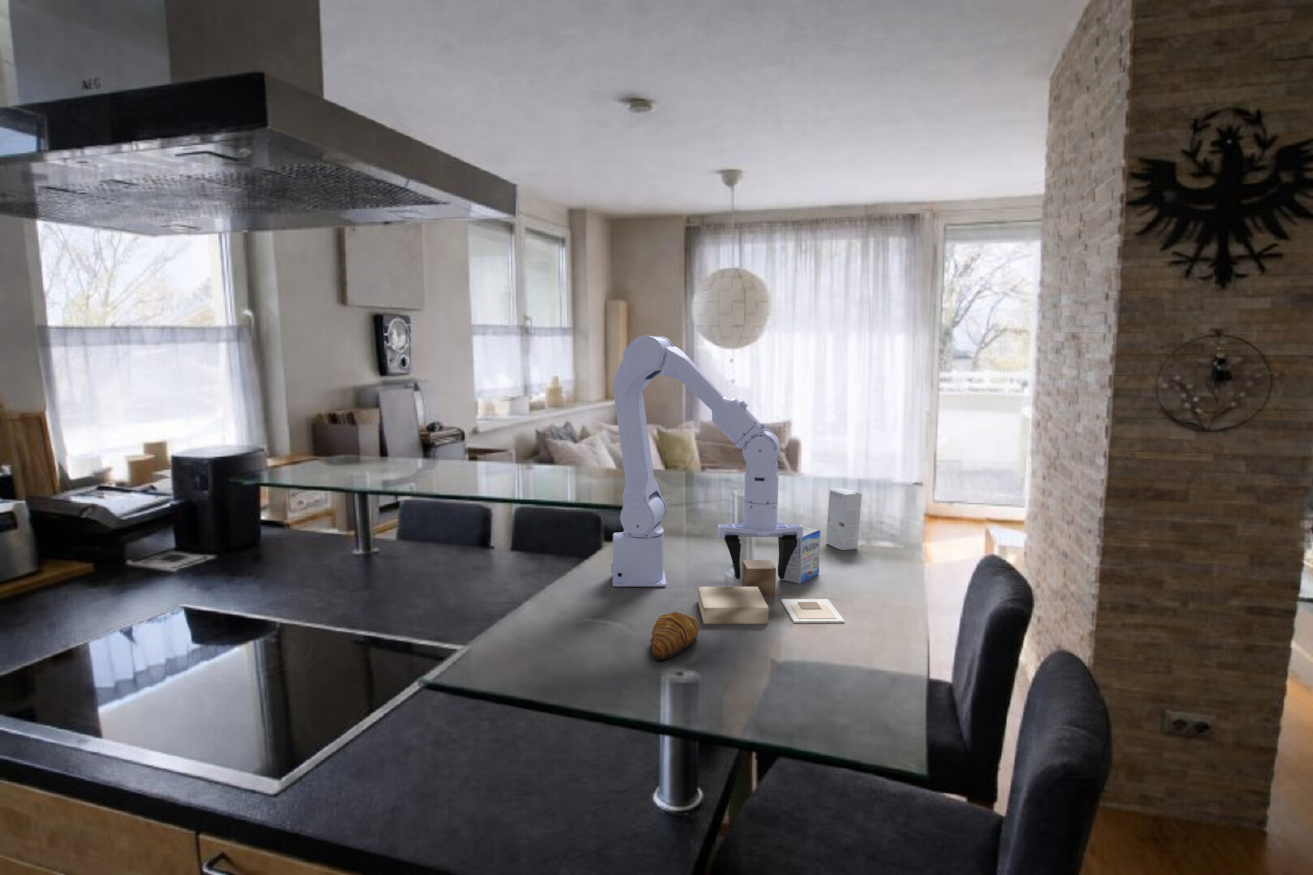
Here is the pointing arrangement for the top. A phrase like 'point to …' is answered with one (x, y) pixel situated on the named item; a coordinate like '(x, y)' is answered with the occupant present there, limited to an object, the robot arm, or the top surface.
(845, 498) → the skincare box
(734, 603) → the maple block
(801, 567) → the medicine box
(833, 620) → the picture card
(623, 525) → the robot arm
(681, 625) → the croissant
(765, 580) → the walnut cube
